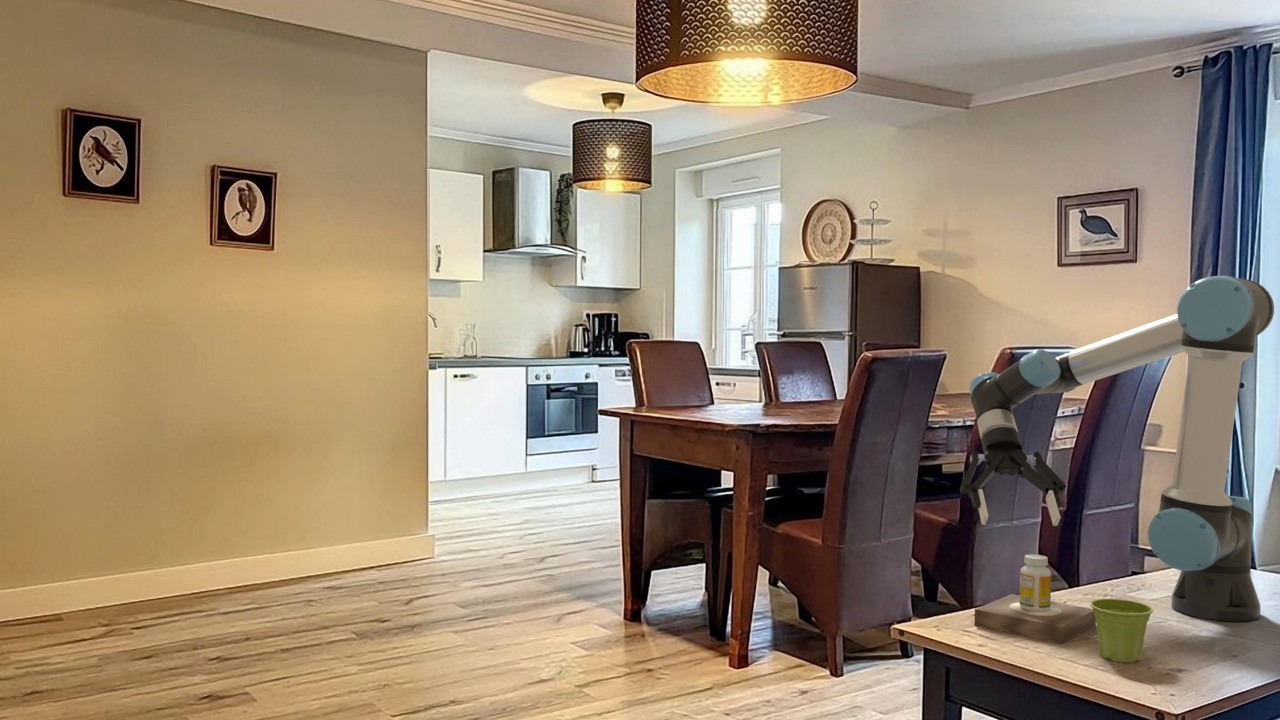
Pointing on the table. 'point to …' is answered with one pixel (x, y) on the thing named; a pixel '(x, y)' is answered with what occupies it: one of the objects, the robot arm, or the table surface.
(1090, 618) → the walnut plinth
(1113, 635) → the plant pot
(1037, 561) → the supplement bottle
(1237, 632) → the table surface
